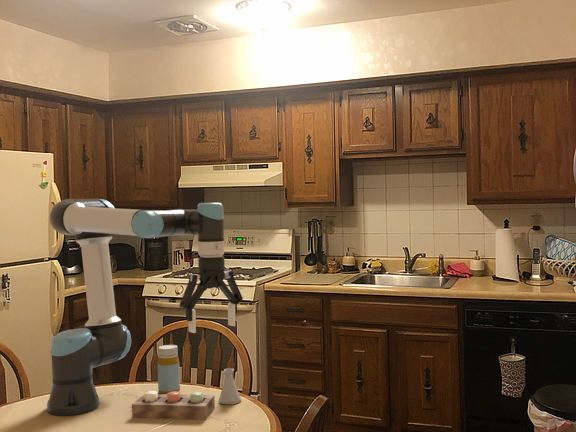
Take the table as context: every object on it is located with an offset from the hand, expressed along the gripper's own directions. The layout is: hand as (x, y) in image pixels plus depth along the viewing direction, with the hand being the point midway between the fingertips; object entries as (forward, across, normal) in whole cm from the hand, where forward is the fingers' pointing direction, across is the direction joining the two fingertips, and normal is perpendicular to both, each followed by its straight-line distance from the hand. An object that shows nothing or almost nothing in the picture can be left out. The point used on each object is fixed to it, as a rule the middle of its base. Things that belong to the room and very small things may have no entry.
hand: (212, 328), depth 179 cm
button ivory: (+23, -12, +15) cm, 30 cm away
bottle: (+26, +2, +30) cm, 40 cm away
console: (+26, -7, +10) cm, 28 cm away
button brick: (+23, -7, +10) cm, 26 cm away
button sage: (+23, -3, +5) cm, 24 cm away
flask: (+26, +11, +7) cm, 29 cm away
